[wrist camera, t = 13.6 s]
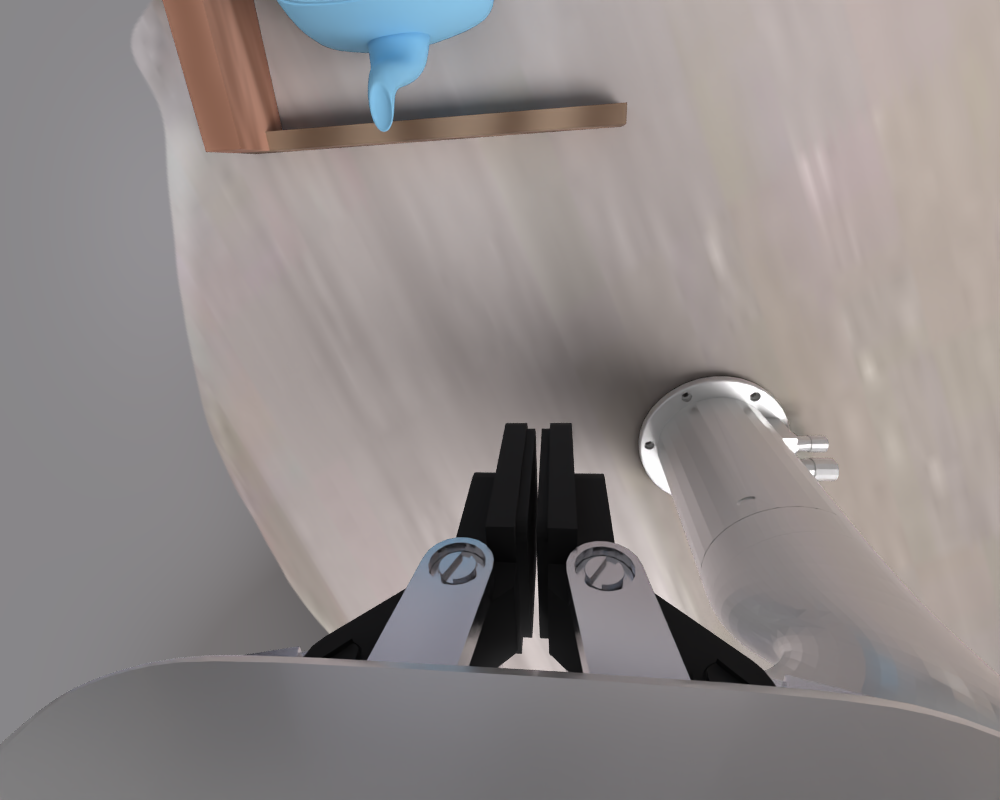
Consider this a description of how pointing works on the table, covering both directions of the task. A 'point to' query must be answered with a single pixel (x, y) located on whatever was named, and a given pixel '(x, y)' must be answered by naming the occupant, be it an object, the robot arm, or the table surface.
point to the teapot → (386, 36)
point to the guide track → (257, 127)
